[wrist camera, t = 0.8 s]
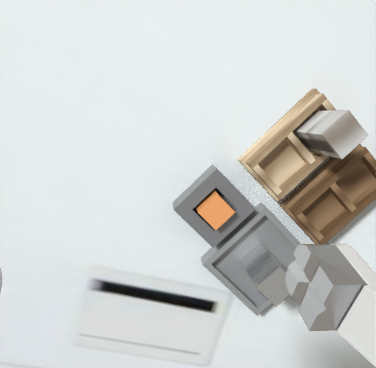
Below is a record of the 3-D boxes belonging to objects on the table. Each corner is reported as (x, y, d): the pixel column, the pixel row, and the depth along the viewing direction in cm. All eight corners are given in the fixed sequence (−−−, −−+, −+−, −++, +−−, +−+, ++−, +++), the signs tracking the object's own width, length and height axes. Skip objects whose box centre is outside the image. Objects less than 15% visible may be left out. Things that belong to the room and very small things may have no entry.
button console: (248, 202, 53) (255, 209, 49) (209, 238, 53) (213, 248, 50) (212, 164, 51) (216, 168, 47) (172, 202, 52) (173, 209, 48)
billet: (276, 259, 54) (298, 286, 45) (256, 277, 55) (274, 307, 46) (259, 242, 53) (279, 266, 45) (239, 260, 54) (254, 288, 45)
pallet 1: (346, 133, 52) (392, 137, 41) (274, 199, 53) (301, 219, 43) (311, 89, 50) (350, 82, 39) (237, 159, 51) (256, 170, 41)
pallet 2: (383, 179, 54) (398, 183, 50) (313, 241, 55) (323, 250, 52) (351, 139, 52) (365, 141, 48) (279, 205, 53) (287, 211, 50)
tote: (310, 255, 56) (317, 262, 53) (253, 307, 57) (257, 315, 55) (260, 202, 53) (265, 206, 50) (200, 257, 54) (202, 264, 52)
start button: (230, 206, 50) (235, 212, 47) (212, 223, 50) (216, 230, 47) (214, 189, 49) (217, 194, 46) (195, 206, 49) (198, 212, 46)
